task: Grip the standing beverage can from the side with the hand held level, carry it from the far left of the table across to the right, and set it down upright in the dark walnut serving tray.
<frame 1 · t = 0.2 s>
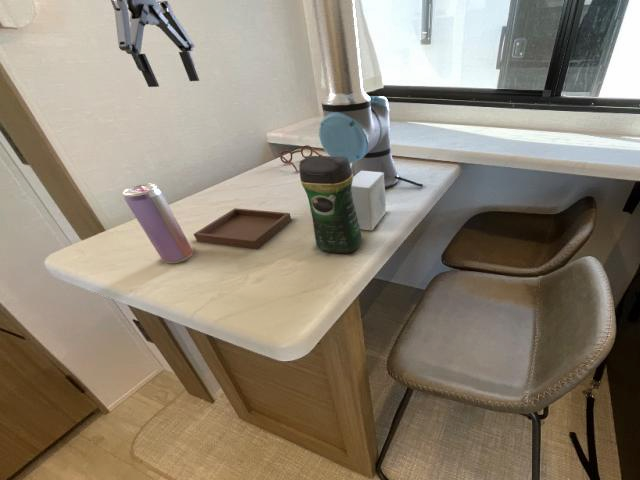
hand: (175, 83, 84), 28 cm above the table, tool pointing down, fingers open, 13 cm apart
cosmetics box: (368, 221, 79), on the table
tray: (246, 230, 77), on the table
glasses: (305, 165, 117), on the table
beverage can: (179, 257, 69), on the table
coffee jar: (340, 246, 70), on the table
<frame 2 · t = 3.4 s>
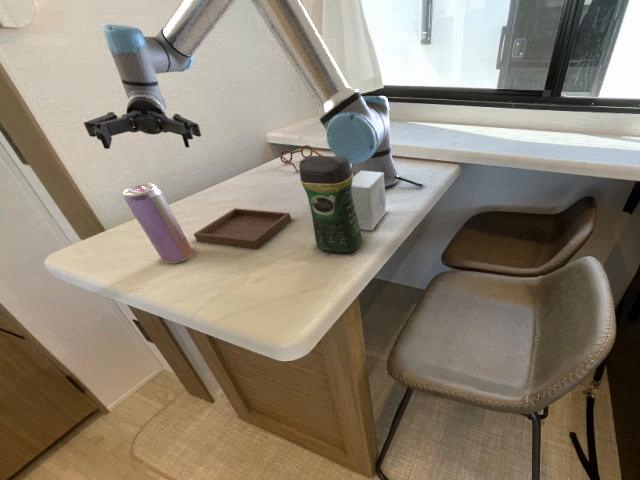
hand: (146, 141, 64), 21 cm above the table, tool horizontal, fingers open, 13 cm apart
nothing on the table moved.
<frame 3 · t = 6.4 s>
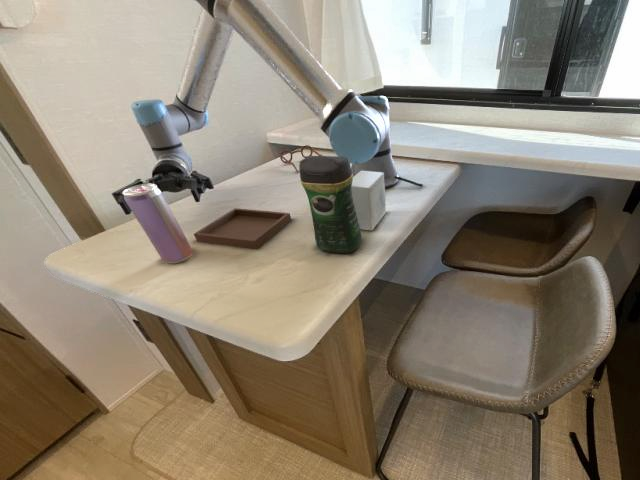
hand: (160, 202, 68), 9 cm above the table, tool horizontal, fingers open, 13 cm apart
nothing on the table moved.
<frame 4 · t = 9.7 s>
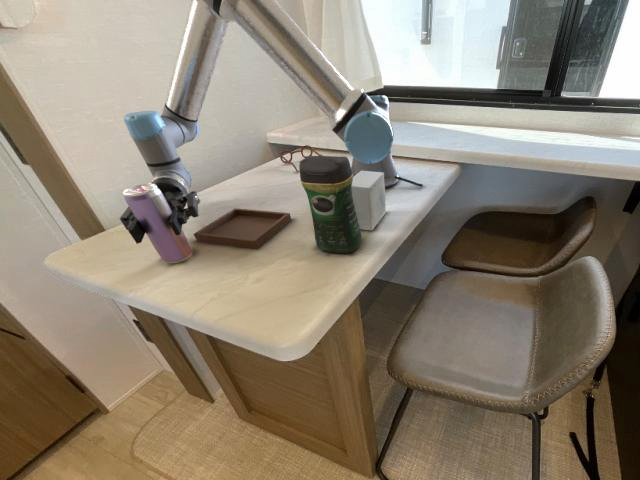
hand: (155, 232, 59), 8 cm above the table, tool horizontal, fingers closed on beverage can, 6 cm apart
beverage can: (179, 257, 69), on the table, touching gripper
everything else where it was.
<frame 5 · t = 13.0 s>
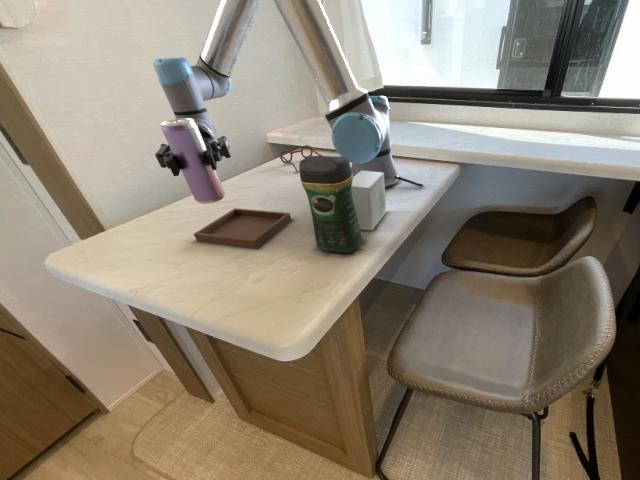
hand: (192, 165, 59), 18 cm above the table, tool horizontal, fingers closed on beverage can, 6 cm apart
beverage can: (211, 199, 68), point 9 cm above the table, touching gripper
everything else where it was.
when the fingers open (9 cm above the table, at t = 16.5 s): beverage can stays where it is, resting on tray.
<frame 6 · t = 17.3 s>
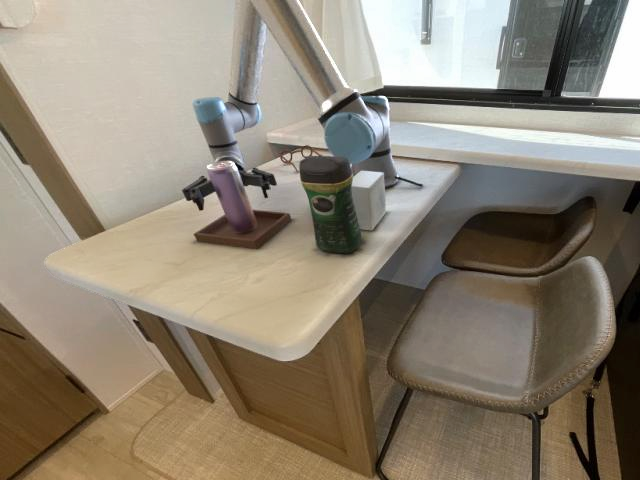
hand: (232, 198, 69), 9 cm above the table, tool horizontal, fingers open, 13 cm apart
beverage can: (245, 229, 77), resting on tray
everything else where it was.
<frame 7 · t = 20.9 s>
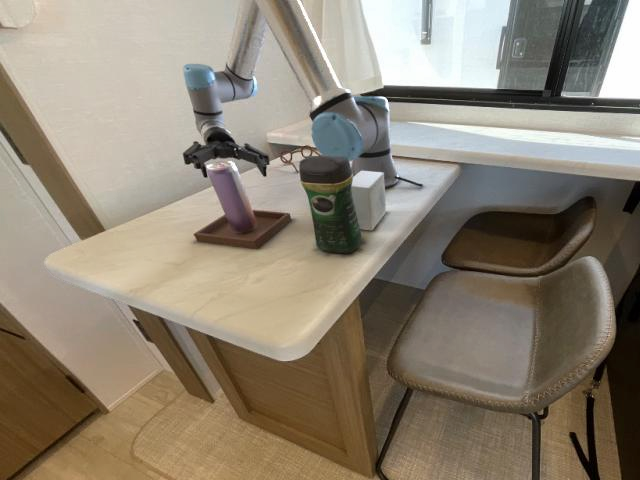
hand: (236, 171, 78), 11 cm above the table, tool horizontal, fingers open, 13 cm apart
nothing on the table moved.
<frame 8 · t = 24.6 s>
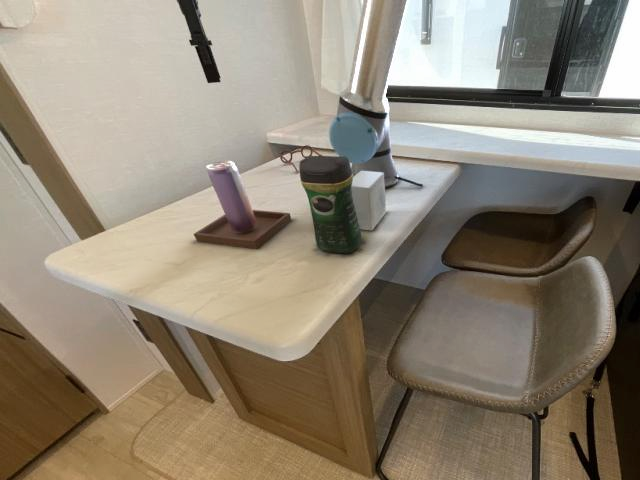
hand: (214, 80, 76), 29 cm above the table, tool pointing down, fingers open, 13 cm apart
nothing on the table moved.
at the end: beverage can inside the target area in the tray (0.1 cm from its centre), point 0.3 cm above the tray's base; beverage can tilted 0°; the gripper is holding nothing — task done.
